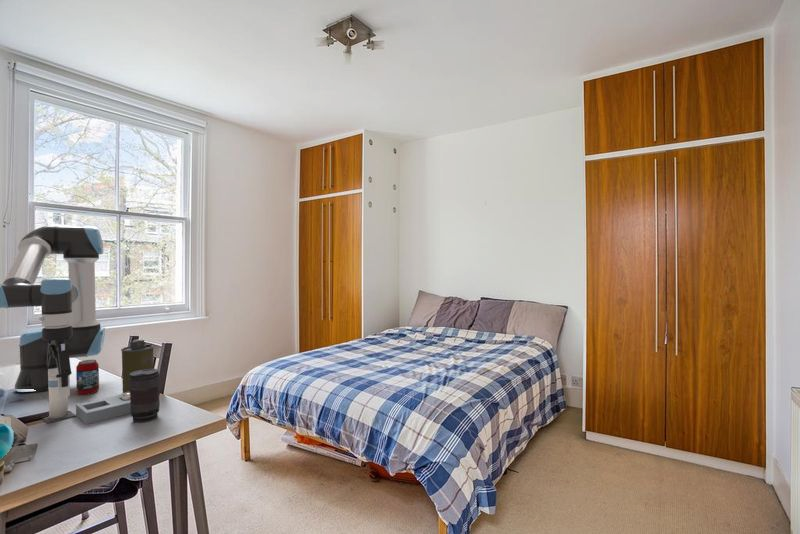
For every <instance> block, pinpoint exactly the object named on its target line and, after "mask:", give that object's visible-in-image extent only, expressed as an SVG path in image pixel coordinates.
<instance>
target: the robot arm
mask: <svg viewBox="0 0 800 534" xmlns="http://www.w3.org/2000/svg"><path fill="white" fill-rule="evenodd" d="M17 251H18V253H17V255H16V257H15V259H14V261H13V263H12V265H11V267H10V268H9V271H8V273H7V274H6V277H5V279H4V281H3V282H2V284H1V283H0V309H1V308H3V309H4V308H5V309H11V308H13V309H14V308H27V307H28V308H29V307H41V317H39V319H38V321H41V326H42V328H39V329H33V330H29V331H26V332H23V333H22V334H21V335H20V336H19V345H18V346H19V368H20V369H19V374H18V376H17V378H16V382H15V384H14V390H15V389H34V390H36V391H38V392H45V391H46V392H47V391H49V387H48V380H49V376H52V373H54V372H58V373H59V374H58V375H56V378H58V398H62V397H67V396H68V397H70V396H71V392H70V391H71V386H70V385H71V383H70V382H71V381H70V380H71V379H70V376H71V375H72V367H71V360H70V359H72V358H73V359H74V358H84V357H85V358H88V357H93V356H99V354H101V352H102V350H103V346H104V342H105V336H106V335H105V334H106V327H105V326H101V322H100V321H99V320H97V315H96V314H97V313H96V311H97V310H96V308H97V307H96V273H95V267H96V265H95V263H96V262H97V261H98V260H99V259H100V255H103V254H104V244H103V238H102V235H101V232H100V230H99V228H98V227H96V226H90V225H62V224H61V225H60V224H59V225H58V224H50V225H45V226H40V227H38V228H35V229H34V230H32V231H30V232H29V233H27V234H26V235H25V236H23V237H22V239H20V241H19V243H18V246H17ZM50 255H62V256H63V258H62V259H63V260H64V261H66V262H67V264H68V265H67V267H68V272H67V273H68V277H67V278H66V277H60V278H59V277H55V278H54V277H53V278H52V277H51V278H50V277H49V278H43V279H42V280H41V282H40V283H36V281H37V278H38V275H39V273H40V271H41V268H42V267H43V265H44V264H43V263H44V261H45V259H46V258H48V257H49V256H50ZM38 392H37V393H38Z"/></svg>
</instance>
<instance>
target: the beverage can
mask: <svg viewBox="0 0 800 534" xmlns="http://www.w3.org/2000/svg"><path fill="white" fill-rule="evenodd" d="M99 367H100V366H99V363H98V362H97V359H87V360H80V361H79V362H78V363H77V365H76V367H75V370H76V373H75V377H76V393H77V394H79V395H82V396H83V395H90V394H94V393H96V392H97V391H98V390H99V389H100V373H99V370H100V368H99Z"/></svg>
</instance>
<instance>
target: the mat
mask: <svg viewBox="0 0 800 534" xmlns="http://www.w3.org/2000/svg"><path fill="white" fill-rule="evenodd" d="M47 416H48V415H47ZM75 417H77V415H76V414H75V413H73V412H72V411H71V410H68V415H67V416H65V417H62V418H57V419H50V418H49V416H48V417H45V418H42V420H43V421H44V422H45V423H46V424H51V423H56V422H59V421H63V420H67V419H73V418H75Z"/></svg>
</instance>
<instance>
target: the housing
mask: <svg viewBox="0 0 800 534" xmlns="http://www.w3.org/2000/svg"><path fill="white" fill-rule="evenodd" d="M122 394H123V393H121V394H118V395H117V394H116V395H112V396H108V397H104V398H100V399H94V400H90V401H85V402H80V403H76V404H75V416H76V417H77V418H79V419H80V420H81V421H82V422H84V424H86V425H89V424H90V425H91V424H93V423H98V422H101V421H102V422H103V421H105V420H106V421H107V420H110V419H114V418H117V417H120V416H121V417H122V416H124V415H129V414H131V410H130V399H129V400H125V401H123V400H122Z"/></svg>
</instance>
